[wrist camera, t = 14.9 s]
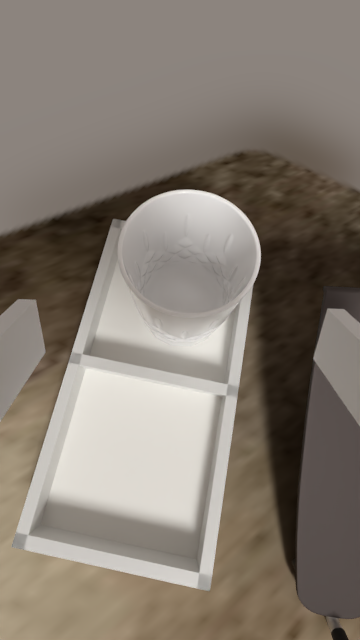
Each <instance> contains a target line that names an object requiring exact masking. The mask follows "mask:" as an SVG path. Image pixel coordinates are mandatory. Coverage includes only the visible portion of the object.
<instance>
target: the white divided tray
mask: <svg viewBox="0 0 360 640" xmlns="http://www.w3.org/2000/svg"><path fill="white" fill-rule="evenodd" d="M125 222H126V221H123V220H117V219H113V221H112V224H111V227H110V230H109V233H108V237H107V240H106V243H105V246H104V250H103V253H102V256H101V259H100V263H99V266H98V269H97V272H96V275H95V279H94V282H93V285H92V288H91V292H90V295H89V298H88V301H87V305H86V308H85V311H84V314H83V317H82V321H81V324H80V327H79V330H78V334H77V337H76V340H75V343H74V347H73V350H72V353H71V356H70V359H69V363H68V366H67V369H66V372H65V376H64V379H63V382H62V385H61V389H60V392H59V395H58V398H57V401H56V405H55V408H54V411H53V414H52V418H51V421H50V424H49V427H48V431H47V434H46V437H45V440H44V443H43V447H42V450H41V453H40V456H39V460H38V463H37V466H36V469H35V473H34V476H33V479H32V482H31V485H30V489H29V492H28V495H27V498H26V502H25V505H24V508H23V511H22V515H21V518H20V521H19V524H18V527H17V531H16V534H15V537H14V540H13V544H12V547H14V548H18V549H23V550H27V551H32V552H36V553H41V554H45V555H50V556H54V557H59V558H63V559H68V560H72V561H77V562H81V563H86V564H90V565H94V566H99V567H103V568H108V569H112V570H117V571H121V572H126V573H130V574H135V575H139V576H144V577H148V578H153V579H157V580H162V581H166V582H171V583H175V584H180V585H184V586H188V587H193V588H197V589H202V590H206V591H210V587H211V579H212V572H213V565H214V558H215V551H216V544H217V537H218V530H219V523H220V516H221V509H222V502H223V495H224V488H225V481H226V474H227V466H228V459H229V452H230V445H231V438H232V431H233V424H234V417H235V410H236V403H237V396H238V389H239V382H240V375H241V368H242V361H243V353H244V346H245V339H246V332H247V325H248V318H249V311H250V304H251V297H252V290H253V285H252V287H251V288H250V290H249V291H248V292H247V294H246V295H245V296H244V297H243V299H242V300H241V301H240V302H239V304H238V305H237V306H236V308H235V309H234V310H233V311H232V312H231V314H230V315H229V316H228V318H227V319H226V320H225V321H224V322H223V323H222V324H221V326H220V327H219V328H218V329H216V330H215V331H214V332H213V333H212V334H211V335H210V336H209V338H208V339H206V340H204V341H202V342H200V343H197V344H195V345H193V346H171V345H169V344H167V343H165V342H163V341H161V340H159V339H157V338H156V337H155V336H154V335H153V333H152V332H151V331H150V330H149V328H148V327H147V326H146V324H145V323H144V321H143V319H142V317H141V315H140V314H139V312H138V310H137V308H136V306H135V303H134V301H133V299H132V296H131V294H130V292H129V289H128V287H127V285H126V283H125V280H124V278H123V276H122V273H121V271H120V267H119V263H118V256H117V248H118V240H119V236H120V233H121V230H122V228H123V226H124V224H125Z"/></svg>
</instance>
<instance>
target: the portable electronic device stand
mask: <svg viewBox="0 0 360 640" xmlns="http://www.w3.org/2000/svg"><path fill="white" fill-rule="evenodd" d="M323 292H324V295H323V301H322V307H321V313H320V320H319V326H318V332H317V338H316V345H315V350H316V347H317V343H318V340H319V336H320V333H321V329H322V326H323V322H324V319H325V315H326V312H327V309H344V310H346V311H347V312H348V313H349V314H350V315H351V316H352V317H353V318H354V319H356V320H357V321H358V322H359V323H360V288H351V287H333V286H324V287H323ZM314 354H315V351H314ZM292 564H293V567H294V569H295V571H296V591H297V594H298V597H299V599H300V601H301V603H302V604H303V605H304V606H305V607H306V608H307V609H308V610H310V611H312V612H314V613H316V614H320V615H324V616H326V620H327V624H328V626H329V629H330V631H331V635H332V638H333V640H348V637H347V635H346V633H345V631H344V630H343V628H342V626H341V624H340V621H339V618H343V619H354V618H358V617H360V426H359V425H358V423H357V422H356V420H355V419H354V417H353V416H352V414H351V413H350V412H349V410H348V409H347V407H346V406H345V404H344V403H343V401H342V400H341V398H340V397H339V395H338V394H337V393H336V391H335V390H334V388H333V387H332V385H331V384H330V382H329V381H328V379H327V378H326V377H325V375H324V374H323V372H322V371H321V369H320V368H319V366H318V365H317V363H316V362H315V361H314V359H313V364H312V371H311V378H310V384H309V392H308V400H307V408H306V416H305V424H304V434H303V443H302V453H301V462H300V472H299V482H298V496H297V514H296V540H295V558H294V559H293V560H292Z"/></svg>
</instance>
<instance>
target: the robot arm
mask: <svg viewBox="0 0 360 640" xmlns="http://www.w3.org/2000/svg"><path fill="white" fill-rule="evenodd" d="M44 354H45V346H44V341H43V336H42V330H41V325H40V320H39V314H38V309H37V304H36V300H25V299H18V300H17V301H16V302H15V303H14V304H13V305H11V306H10V307H9V308H8V309H7V310H6V311H5V312H4V313H3V314H2V315H1V316H0V421H1V420H2V418H3V417H4V415H5V414H6V412H7V410H8V409H9V407H10V406H11V404H12V403H13V401H14V400H15V398H16V397H17V395H18V394H19V392H20V391H21V389H22V387H23V386H24V384H25V383H26V381H27V380H28V378H29V377H30V375H31V374H32V372H33V371H34V369H35V368H36V366H37V364H38V363H39V361H40V360H41V358H42V357H43V355H44ZM313 359H314V361H315V362H316V363H317V365H318V366H319V368H320V369H321V371H322V372H323V374H324V375H325V377H326V378H327V379H328V381H329V382H330V384H331V385H332V387H333V388H334V390H335V391H336V393H337V394H338V395H339V397H340V398H341V400H342V401H343V403H344V404H345V406H346V407H347V409H348V410H349V412H350V413H351V414H352V416H353V417H354V419H355V420H356V422H357V423H358V425H359V426H360V323H359V322H358V321H357V320H356V319H354V318H353V317H352V316H351V315H350V314H349V313H348V312H347V311H346V310H344V309H327V312H326V315H325V319H324V322H323V326H322V329H321V333H320V336H319V340H318V343H317V347H316V350H315V354H314V357H313Z"/></svg>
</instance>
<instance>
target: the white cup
mask: <svg viewBox="0 0 360 640" xmlns="http://www.w3.org/2000/svg"><path fill="white" fill-rule="evenodd" d="M117 256H118V263H119V267H120V271H121V273H122V276H123V278H124V280H125V283H126V285H127V287H128V289H129V292H130V294H131V296H132V299H133V301H134V303H135V306H136V308H137V310H138V312H139V314H140V315H141V317H142V319H143V321H144V323H145V324H146V326H147V327H148V328H149V330H150V331H151V332H152V333H153V335H154V336H155V337H156V338H157V339H159V340H161V341H163V342H165V343H167V344H169V345H171V346H193V345H195V344H197V343H200V342H202V341H204V340H206V339H208V338H209V336H210V335H211V334H212V333H213V332H214V331H215V330H216V329H218V328H219V327H220V326H221V324H222V323H223V322H224V321H225V320H226V319H227V318H228V316H229V315H230V314H231V312H232V311H233V310H234V309H235V308H236V306H237V305H238V304H239V302H240V301H241V300H242V299H243V297H244V296H245V295H246V294H247V292H248V291H249V290H250V288H251V287H252V285H253V284H254V282H255V280H256V277H257V275H258V272H259V268H260V262H261V249H260V243H259V239H258V236H257V233H256V231H255V229H254V227H253V225H252V224H251V222H250V221H249V219H248V218H247V217H246V215H245V214H244V213H243V212H242V211H241V210H240V209H239V208H237V207H236V206H235V205H234V204H232V203H231V202H229V201H228V200H226V199H224V198H222V197H220V196H218V195H215V194H212V193H209V192H205V191H200V190H189V189H185V190H174V191H169V192H165V193H162V194H159V195H157V196H155V197H153V198H151V199H149V200H147V201H146V202H144V203H143V204H141V205H140V206H139V207H138V208H137V209H136V210H135V211H134V212H133V213H132V214H131V215H130V216H129V218H128V219H127V221H126V222H125V224H124V226H123V228H122V230H121V233H120V236H119V240H118V248H117Z"/></svg>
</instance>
